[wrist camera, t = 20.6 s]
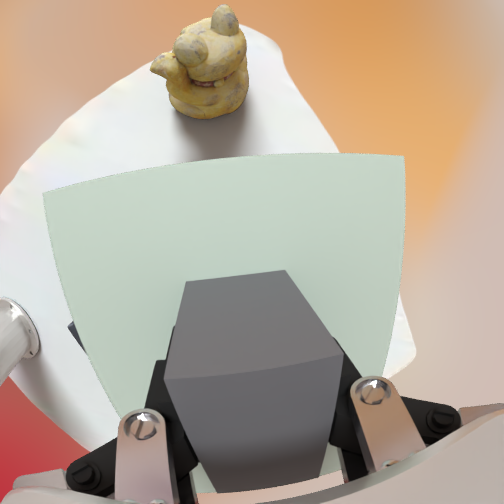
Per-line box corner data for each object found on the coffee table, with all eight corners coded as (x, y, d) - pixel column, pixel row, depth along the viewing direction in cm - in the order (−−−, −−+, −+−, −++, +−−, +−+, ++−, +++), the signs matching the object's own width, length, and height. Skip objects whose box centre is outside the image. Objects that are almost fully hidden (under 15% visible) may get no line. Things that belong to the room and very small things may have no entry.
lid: (175, 478, 15) (174, 541, 9) (61, 189, 9) (-54, 216, 3) (343, 454, 17) (370, 511, 10) (384, 156, 10) (505, 159, 4)
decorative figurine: (210, 50, 27) (209, -18, 13) (262, 82, 29) (294, 26, 15) (163, 105, 29) (127, 60, 14) (216, 139, 31) (215, 111, 16)
